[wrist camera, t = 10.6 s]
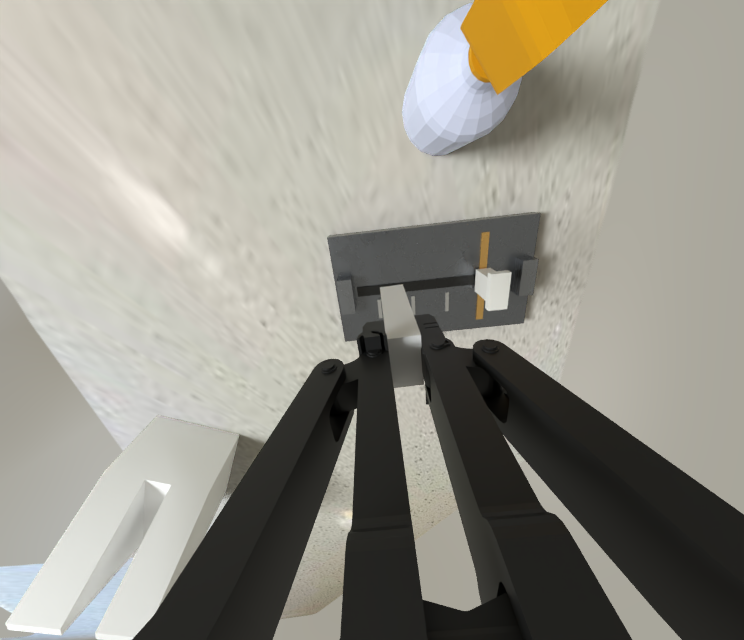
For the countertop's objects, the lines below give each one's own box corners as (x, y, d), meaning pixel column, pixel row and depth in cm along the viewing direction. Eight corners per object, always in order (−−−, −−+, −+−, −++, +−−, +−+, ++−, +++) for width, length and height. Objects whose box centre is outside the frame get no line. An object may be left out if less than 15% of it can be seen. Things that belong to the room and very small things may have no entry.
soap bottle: (493, 113, 31) (799, -82, 9) (432, 173, 34) (555, 132, 12) (449, 37, 28) (741, -518, 6) (386, 108, 31) (434, -108, 9)
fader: (474, 263, 37) (491, 274, 32) (492, 261, 36) (511, 272, 32) (472, 296, 39) (488, 311, 34) (489, 294, 38) (507, 309, 34)
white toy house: (226, 490, 61) (143, 665, 38) (154, 476, 58) (20, 654, 36) (239, 434, 53) (146, 610, 31) (158, 414, 51) (-10, 591, 28)
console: (329, 235, 37) (325, 239, 33) (531, 212, 36) (550, 214, 33) (346, 335, 44) (344, 348, 40) (516, 317, 43) (530, 329, 39)
